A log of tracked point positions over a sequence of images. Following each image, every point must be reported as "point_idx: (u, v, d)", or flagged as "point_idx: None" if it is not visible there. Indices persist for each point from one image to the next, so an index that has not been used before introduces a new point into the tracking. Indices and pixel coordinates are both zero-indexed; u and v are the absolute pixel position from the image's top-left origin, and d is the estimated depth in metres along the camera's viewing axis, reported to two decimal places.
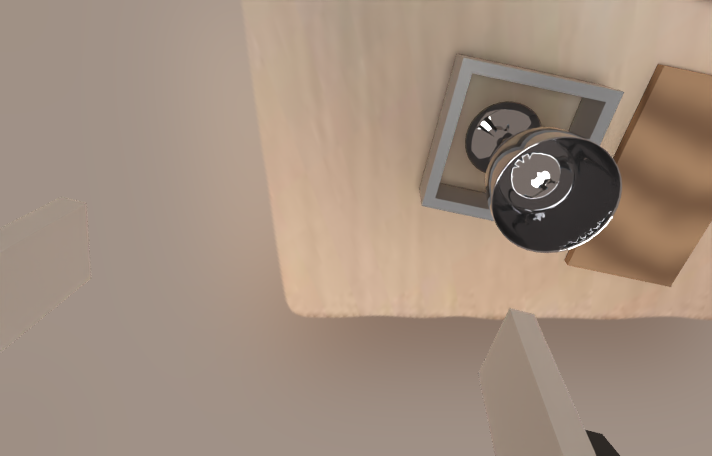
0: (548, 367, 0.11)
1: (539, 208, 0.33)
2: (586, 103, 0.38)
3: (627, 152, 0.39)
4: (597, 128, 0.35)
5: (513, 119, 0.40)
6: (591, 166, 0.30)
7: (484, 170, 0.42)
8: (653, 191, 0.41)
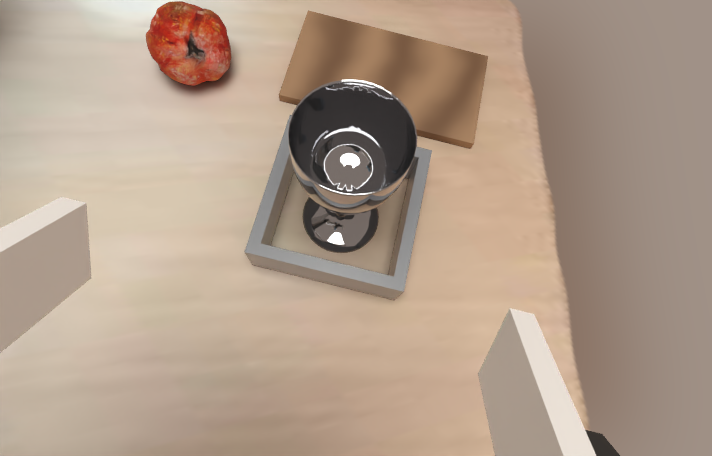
0: (548, 367, 0.11)
1: (387, 161, 0.32)
2: None
3: None
4: None
5: (319, 207, 0.40)
6: (336, 117, 0.31)
7: (372, 232, 0.40)
8: (391, 84, 0.44)
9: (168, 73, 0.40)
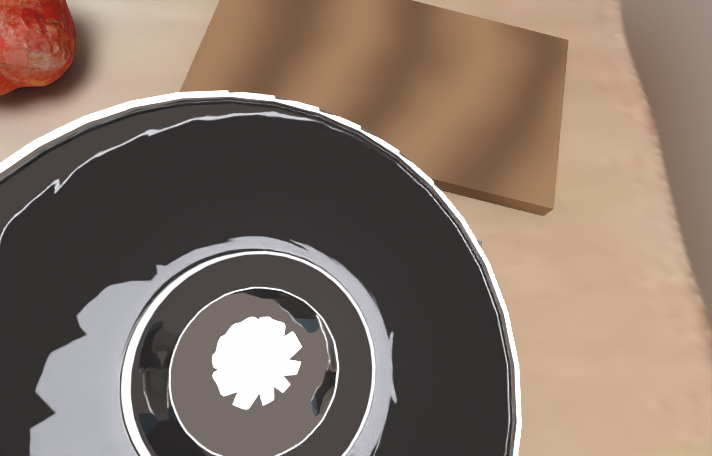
0: None
1: (380, 331, 0.11)
2: None
3: None
4: None
5: None
6: (218, 208, 0.10)
7: None
8: (391, 92, 0.23)
9: None
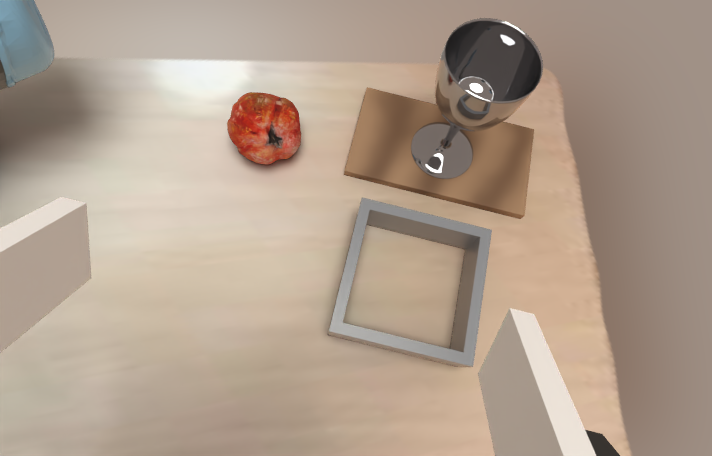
0: (548, 367, 0.11)
1: (502, 90, 0.39)
2: (372, 221, 0.45)
3: (413, 184, 0.46)
4: (391, 212, 0.41)
5: (425, 142, 0.48)
6: (464, 54, 0.38)
7: (469, 162, 0.48)
8: None
9: (247, 156, 0.44)
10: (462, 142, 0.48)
